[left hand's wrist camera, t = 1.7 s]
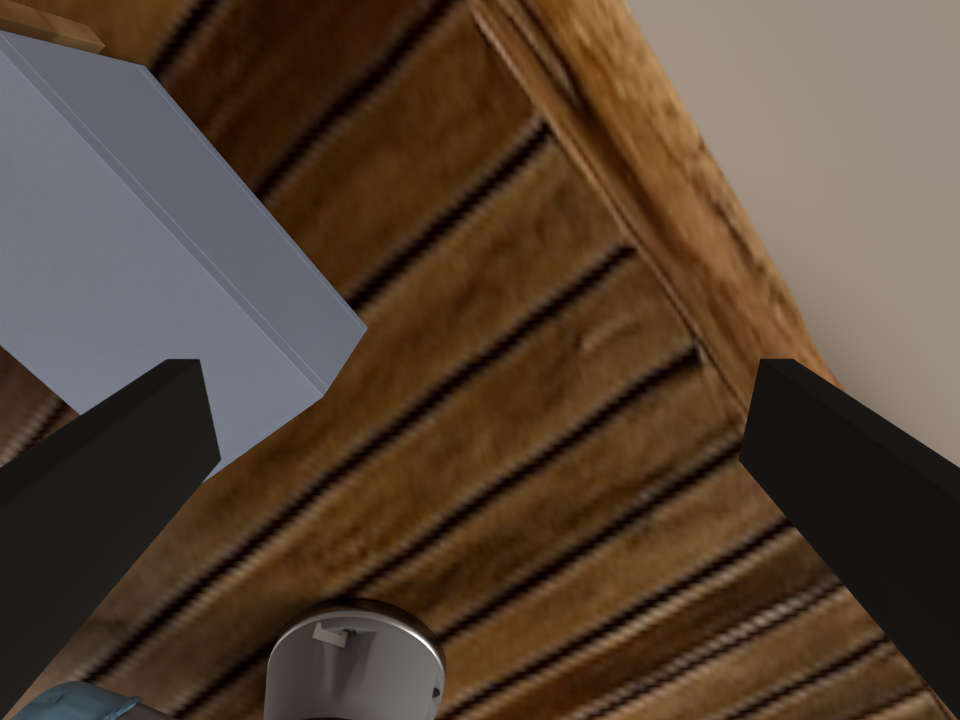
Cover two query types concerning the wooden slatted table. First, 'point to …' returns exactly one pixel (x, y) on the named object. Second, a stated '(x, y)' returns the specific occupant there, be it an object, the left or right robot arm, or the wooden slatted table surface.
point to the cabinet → (148, 251)
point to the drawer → (47, 27)
